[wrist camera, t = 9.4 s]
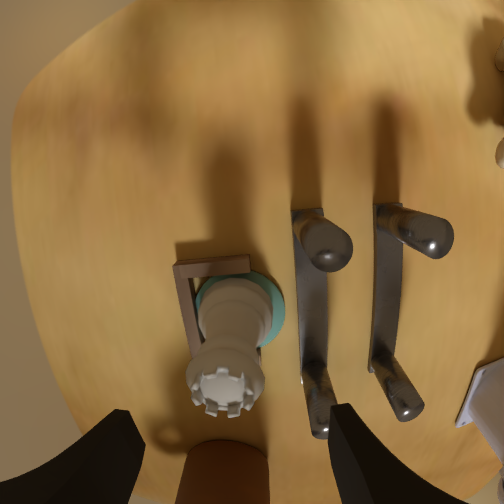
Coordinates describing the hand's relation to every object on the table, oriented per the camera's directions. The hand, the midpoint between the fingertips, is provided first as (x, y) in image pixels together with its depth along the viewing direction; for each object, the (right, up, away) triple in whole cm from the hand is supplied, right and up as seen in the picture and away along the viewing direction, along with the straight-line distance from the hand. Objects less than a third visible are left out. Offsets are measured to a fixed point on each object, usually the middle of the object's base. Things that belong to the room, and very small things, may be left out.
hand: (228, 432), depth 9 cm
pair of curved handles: (+7, +3, +9) cm, 12 cm away
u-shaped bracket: (0, +3, +10) cm, 10 cm away
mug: (-3, -14, +14) cm, 20 cm away
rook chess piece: (0, +3, +9) cm, 10 cm away
